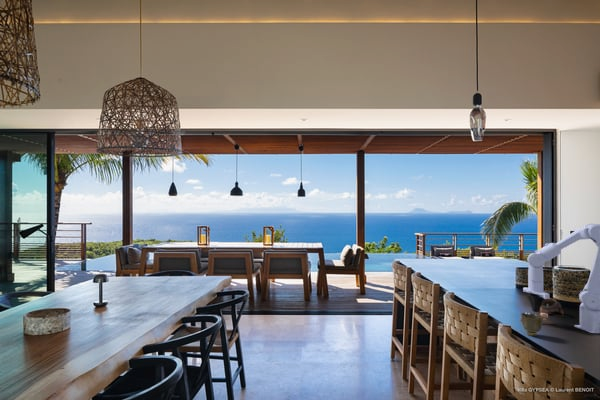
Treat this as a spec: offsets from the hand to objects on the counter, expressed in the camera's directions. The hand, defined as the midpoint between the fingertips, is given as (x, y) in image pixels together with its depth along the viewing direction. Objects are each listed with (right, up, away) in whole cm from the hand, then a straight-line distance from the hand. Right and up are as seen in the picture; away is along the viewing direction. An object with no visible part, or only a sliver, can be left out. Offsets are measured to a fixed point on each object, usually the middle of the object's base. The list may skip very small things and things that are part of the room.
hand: (535, 311), depth 167 cm
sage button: (0, -3, 0) cm, 3 cm away
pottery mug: (+17, -6, +17) cm, 25 cm away
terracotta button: (+4, -3, 0) cm, 4 cm away
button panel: (0, -5, 0) cm, 5 cm away
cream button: (-4, -2, 0) cm, 5 cm away
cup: (-12, -4, -17) cm, 22 cm away
